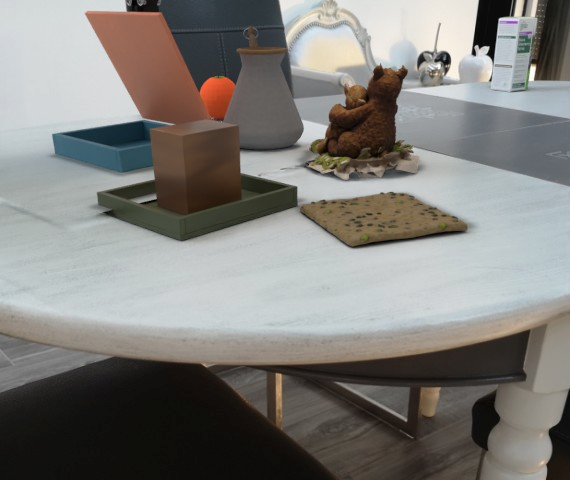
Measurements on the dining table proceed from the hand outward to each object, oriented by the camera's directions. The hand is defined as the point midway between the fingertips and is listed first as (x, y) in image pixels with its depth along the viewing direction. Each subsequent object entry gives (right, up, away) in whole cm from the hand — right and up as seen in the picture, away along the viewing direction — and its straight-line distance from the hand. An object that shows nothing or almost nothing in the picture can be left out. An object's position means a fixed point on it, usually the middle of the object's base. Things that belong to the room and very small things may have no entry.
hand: (147, 41), depth 83 cm
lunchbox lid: (0, -3, +2) cm, 4 cm away
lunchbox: (-2, -14, +4) cm, 14 cm away
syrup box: (+67, +19, +64) cm, 94 cm away
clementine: (+6, +2, +33) cm, 33 cm away
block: (+9, -24, -16) cm, 30 cm away
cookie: (+26, -27, -20) cm, 43 cm away
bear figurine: (+27, -16, +1) cm, 31 cm away
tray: (+9, -25, -16) cm, 30 cm away
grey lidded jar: (+14, -8, +14) cm, 21 cm away
